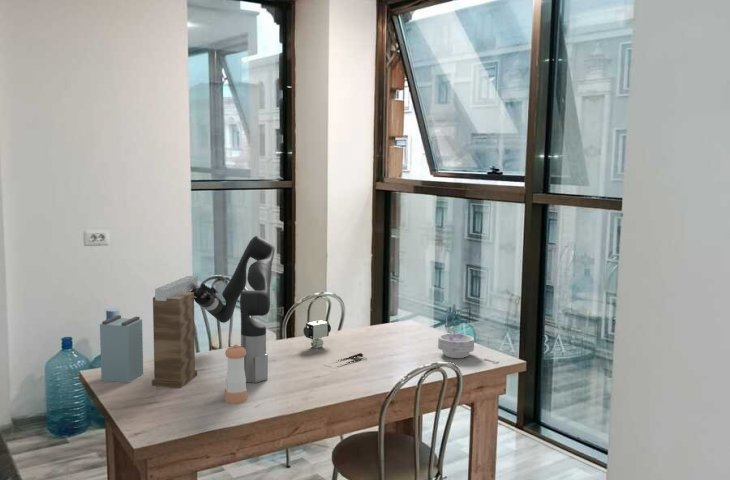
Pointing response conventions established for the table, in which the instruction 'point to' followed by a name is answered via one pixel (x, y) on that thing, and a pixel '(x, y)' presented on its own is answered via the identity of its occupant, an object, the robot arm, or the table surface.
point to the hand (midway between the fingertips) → (191, 285)
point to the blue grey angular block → (121, 349)
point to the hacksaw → (354, 358)
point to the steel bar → (176, 288)
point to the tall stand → (174, 341)
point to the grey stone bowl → (456, 345)
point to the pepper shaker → (235, 375)
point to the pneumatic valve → (317, 332)
